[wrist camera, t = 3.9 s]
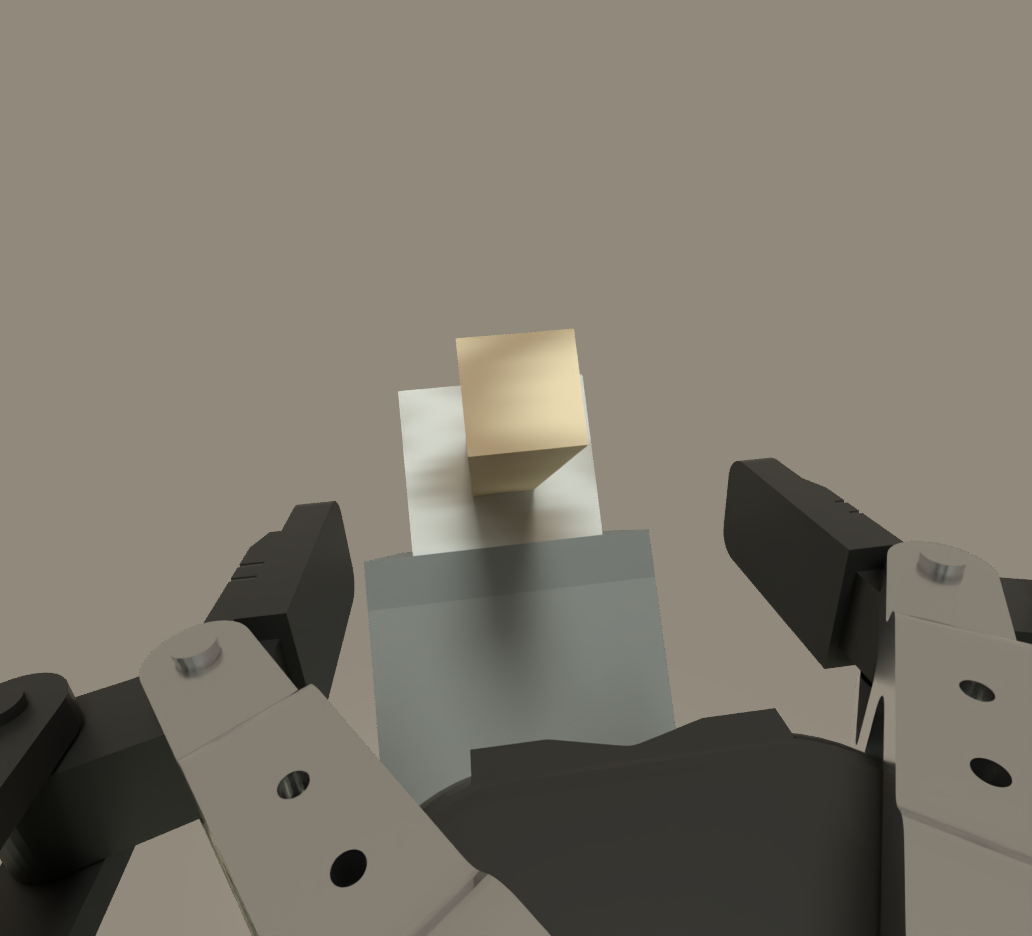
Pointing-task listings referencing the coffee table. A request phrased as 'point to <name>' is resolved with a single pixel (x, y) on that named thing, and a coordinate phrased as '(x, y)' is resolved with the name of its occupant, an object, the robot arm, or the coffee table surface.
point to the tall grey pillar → (514, 651)
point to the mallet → (501, 448)
